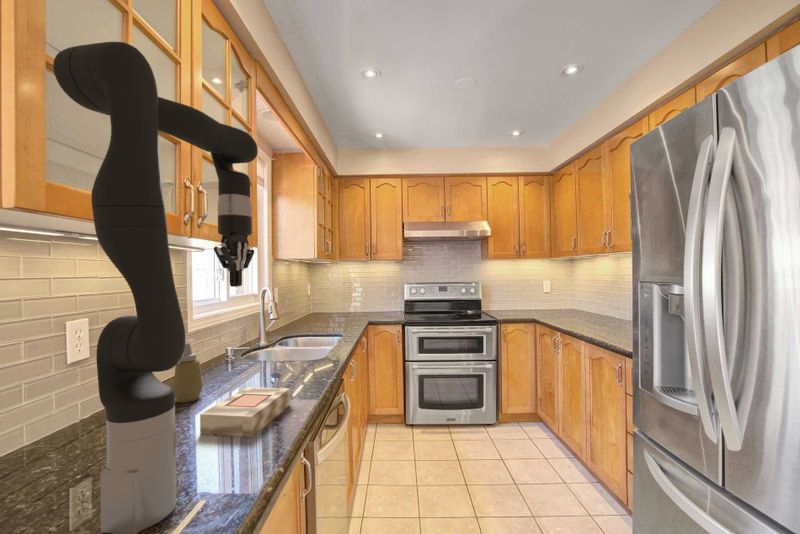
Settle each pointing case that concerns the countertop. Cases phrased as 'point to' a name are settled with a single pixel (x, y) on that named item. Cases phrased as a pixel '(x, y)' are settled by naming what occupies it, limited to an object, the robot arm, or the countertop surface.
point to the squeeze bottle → (187, 377)
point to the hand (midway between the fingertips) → (236, 286)
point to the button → (249, 401)
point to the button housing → (244, 413)
